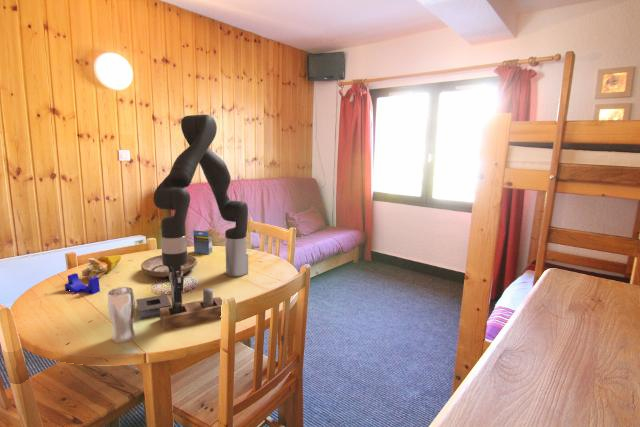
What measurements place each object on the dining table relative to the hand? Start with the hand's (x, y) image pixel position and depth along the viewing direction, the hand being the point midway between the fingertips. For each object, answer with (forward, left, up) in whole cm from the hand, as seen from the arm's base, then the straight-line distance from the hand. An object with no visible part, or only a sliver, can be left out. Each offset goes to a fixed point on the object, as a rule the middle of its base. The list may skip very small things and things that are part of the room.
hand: (176, 299), depth 118 cm
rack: (-5, 0, -8) cm, 9 cm away
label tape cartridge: (-25, -71, -8) cm, 76 cm away
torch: (+20, -60, -8) cm, 64 cm away
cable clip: (+28, -41, -8) cm, 51 cm away
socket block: (+6, -12, -8) cm, 15 cm away
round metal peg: (0, 0, -4) cm, 4 cm away
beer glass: (+16, +3, -8) cm, 18 cm away
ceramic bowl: (-5, -49, -8) cm, 50 cm away
